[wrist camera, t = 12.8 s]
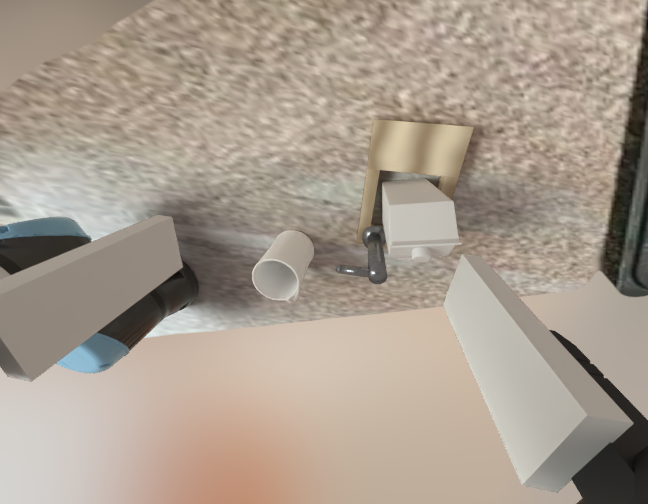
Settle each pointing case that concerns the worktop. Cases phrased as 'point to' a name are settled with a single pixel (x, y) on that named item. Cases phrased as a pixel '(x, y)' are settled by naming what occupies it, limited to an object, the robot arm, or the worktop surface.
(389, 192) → the milk carton
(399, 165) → the tan flat frame
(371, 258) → the metal door lever handle
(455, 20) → the worktop surface
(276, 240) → the mug
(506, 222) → the worktop surface
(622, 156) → the worktop surface
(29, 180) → the worktop surface
